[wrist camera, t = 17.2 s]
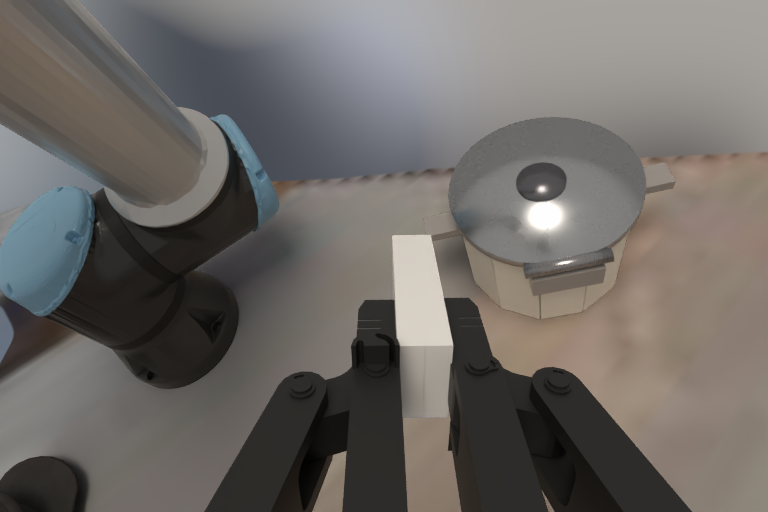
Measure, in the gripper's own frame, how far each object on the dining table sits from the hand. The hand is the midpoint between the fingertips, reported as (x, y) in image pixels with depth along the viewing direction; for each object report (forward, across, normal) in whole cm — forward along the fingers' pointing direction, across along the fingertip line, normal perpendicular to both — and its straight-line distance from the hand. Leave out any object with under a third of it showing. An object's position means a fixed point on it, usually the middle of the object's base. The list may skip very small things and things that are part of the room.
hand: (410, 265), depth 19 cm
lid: (+25, +14, -7) cm, 30 cm away
